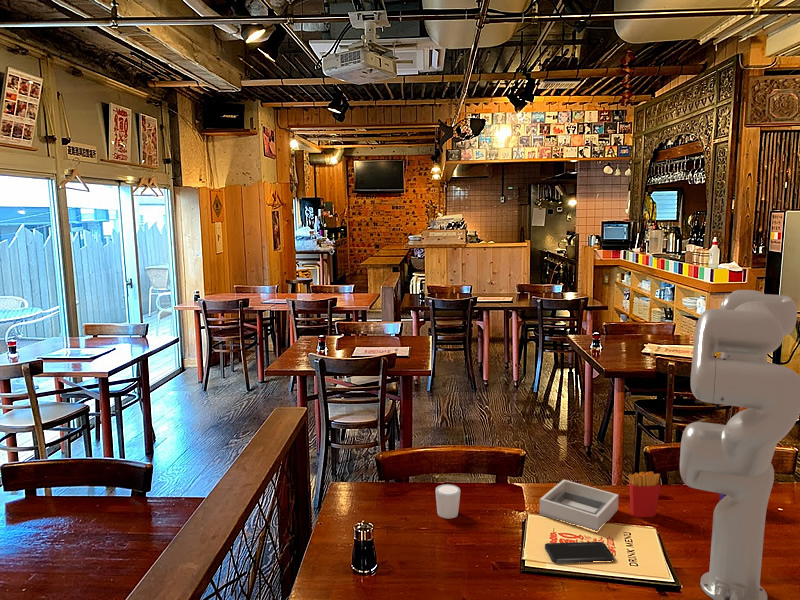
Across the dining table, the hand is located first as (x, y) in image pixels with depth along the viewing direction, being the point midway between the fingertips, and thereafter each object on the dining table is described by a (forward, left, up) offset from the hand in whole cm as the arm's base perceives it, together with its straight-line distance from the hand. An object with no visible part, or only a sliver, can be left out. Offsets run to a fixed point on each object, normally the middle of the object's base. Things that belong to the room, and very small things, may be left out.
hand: (739, 409), depth 146 cm
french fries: (0, +21, -34) cm, 40 cm away
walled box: (-10, +35, -34) cm, 50 cm away
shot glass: (-33, +63, -34) cm, 79 cm away
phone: (-30, +27, -34) cm, 53 cm away
